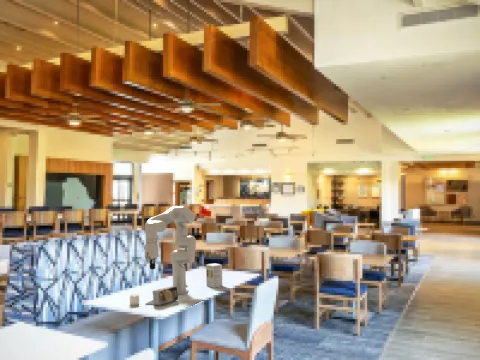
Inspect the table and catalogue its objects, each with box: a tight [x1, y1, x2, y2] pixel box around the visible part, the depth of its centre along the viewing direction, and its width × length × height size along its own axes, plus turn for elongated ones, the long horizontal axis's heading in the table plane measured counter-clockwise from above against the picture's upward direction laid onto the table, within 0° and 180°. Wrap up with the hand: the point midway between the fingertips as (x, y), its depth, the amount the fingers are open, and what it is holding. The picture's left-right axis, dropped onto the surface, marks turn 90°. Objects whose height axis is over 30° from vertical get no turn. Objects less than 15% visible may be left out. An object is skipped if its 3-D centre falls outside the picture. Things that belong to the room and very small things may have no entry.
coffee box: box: [152, 285, 179, 306], centre depth 275 cm, size 9×6×16 cm
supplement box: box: [205, 262, 223, 288], centre depth 322 cm, size 10×9×17 cm
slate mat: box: [145, 299, 177, 307], centre depth 277 cm, size 15×16×1 cm
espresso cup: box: [129, 294, 140, 307], centre depth 273 cm, size 6×6×6 cm
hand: (152, 268), depth 268 cm, fingers closed
